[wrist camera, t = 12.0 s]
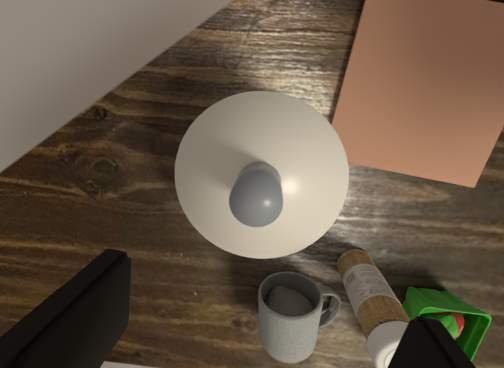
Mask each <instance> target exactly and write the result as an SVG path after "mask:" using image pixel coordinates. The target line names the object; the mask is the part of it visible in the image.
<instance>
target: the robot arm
mask: <svg viewBox="0 0 504 368" xmlns="http://www.w3.org/2000/svg"><path fill="white" fill-rule="evenodd" d="M130 279H131V258H129V257H127V253H126V252H123V251H118V250H114V249H106V250H105V251H104V252H103V253H101V254H100V255H99V256H98V257H97V258H95V259H94V260H93V261H92V262H91V263H89V264H88V265H87V266H86V267H85V268H84V269H82V270H81V271H80V272H79V273H78V274H76V275H75V276H74V277H73V278H72V279H71V280H69V281H68V282H67V283H66V284H65V285H63V286H62V287H60V288H59V289H57V290H56V291H55V292H54V293H53V294H51V295H50V296H49V297H48V298H47V299H45V300H44V301H43V302H42V303H41V304H40V305H38V306H37V307H36V308H35V309H34V310H32V311H31V312H30V313H29V314H28V315H26V316H25V317H24V318H23V319H22V320H20V321H19V322H18V323H17V324H16V325H15V326H13V327H12V328H11V329H10V330H9V331H7V332H6V333H5V334H4V335H3V336H1V337H0V368H100V367H101V365H102V364H103V362H104V361H105V359H106V358H107V356H108V355H109V353H110V352H111V350H112V349H113V347H114V346H115V345H116V343H117V342H118V340H119V339H120V337H121V336H122V334H123V333H124V331H125V329H126V327H127V324H128V321H129V302H130ZM387 368H476V367H475V366H474V365H473V363H472V362H471V361H470V359H469V358H468V357H467V355H466V354H465V353H464V351H463V350H462V349H461V348H460V346H459V345H458V344H457V342H456V341H455V340H454V338H453V337H452V336H451V334H450V333H449V332H448V330H447V329H446V328H445V326H444V325H443V324H442V323H441V322H440V321H439V320H436V319H432V318H427V317H422V316H417V317H415V319H414V320H410V322H409V323H408V325H407V327H406V330H405V332H404V334H403V336H402V338H401V340H400V342H399V344H398V346H397V348H396V351H395V353H394V355H393V357H392V359H391V361H390V363H389V365H388V367H387Z"/></svg>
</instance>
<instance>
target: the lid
mask: <svg viewBox="0 0 504 368" xmlns="http://www.w3.org/2000/svg"><path fill="white" fill-rule="evenodd" d="M348 182H349V169H348V162H347V156H346V153H345V150H344V147H343V144H342V142H341V140H340V138H339V136H338V134H337V133H336V131H335V130H334V128H333V127H332V125H331V124H330V123H329V122H328V121H327V120H326V119H325V118H324V116H323V115H322V114H320V113H319V112H318V111H317V110H315V109H314V108H313V107H311V106H310V105H308V104H306V103H305V102H303V101H301V100H299V99H297V98H294V97H292V96H289V95H286V94H282V93H278V92H270V91H250V92H244V93H239V94H236V95H232V96H229V97H227V98H225V99H222V100H220V101H218V102H216V103H215V104H213V105H212V106H210V107H209V108H207V109H206V110H205V111H204V112H203V113H202V114H200V115H199V116H198V117H197V118H196V120H195V121H194V122H193V123H192V124H191V125H190V127H189V129H188V130H187V132H186V133H185V135H184V137H183V139H182V141H181V143H180V146H179V149H178V152H177V156H176V162H175V186H176V191H177V195H178V199H179V201H180V204H181V207H182V209H183V211H184V212H185V214H186V216H187V218H188V219H189V221H190V222H191V223H192V225H193V226H194V227H195V228H196V229H197V231H198V232H199V233H200V234H201V235H203V236H204V237H205V238H206V239H207V240H209V241H210V242H211V243H213V244H214V245H216V246H218V247H220V248H221V249H223V250H225V251H228V252H230V253H233V254H236V255H240V256H243V257H249V258H260V259H267V258H277V257H282V256H286V255H289V254H293V253H296V252H298V251H300V250H302V249H304V248H306V247H308V246H309V245H311V244H313V243H314V242H315V241H317V240H318V239H319V238H320V237H322V236H323V235H324V234H325V233H326V232H327V230H328V229H329V228H330V227H331V226H332V224H333V223H334V222H335V220H336V219H337V217H338V215H339V213H340V212H341V210H342V207H343V204H344V202H345V199H346V195H347V191H348Z"/></svg>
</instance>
